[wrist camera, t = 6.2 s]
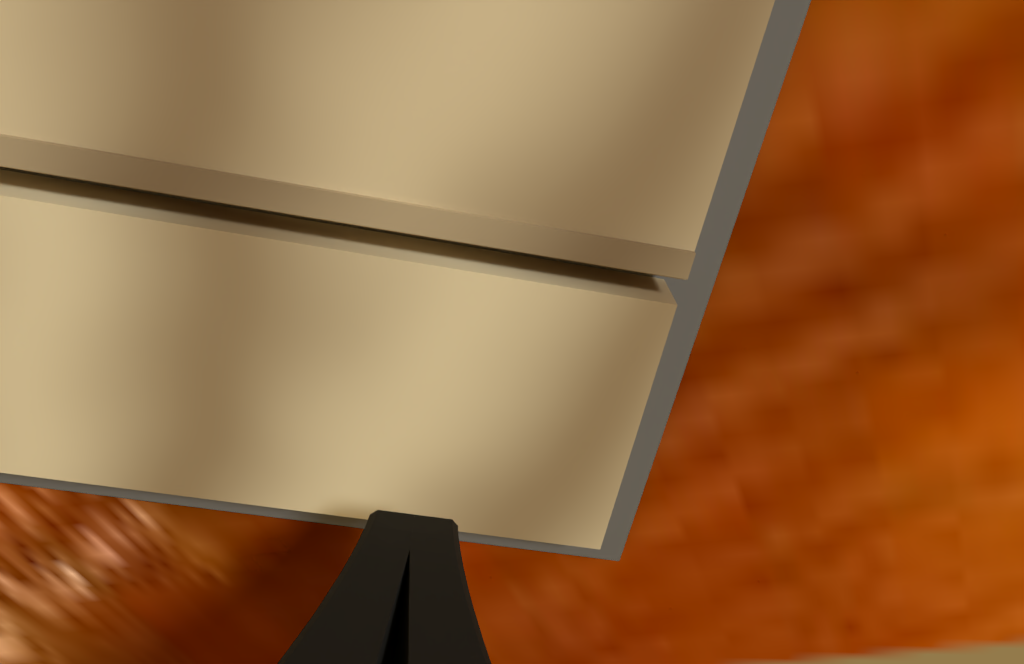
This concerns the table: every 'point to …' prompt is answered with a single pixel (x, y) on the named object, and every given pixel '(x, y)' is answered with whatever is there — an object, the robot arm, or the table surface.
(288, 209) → the fixed plank
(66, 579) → the table surface
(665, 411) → the underlay mat
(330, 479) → the board
